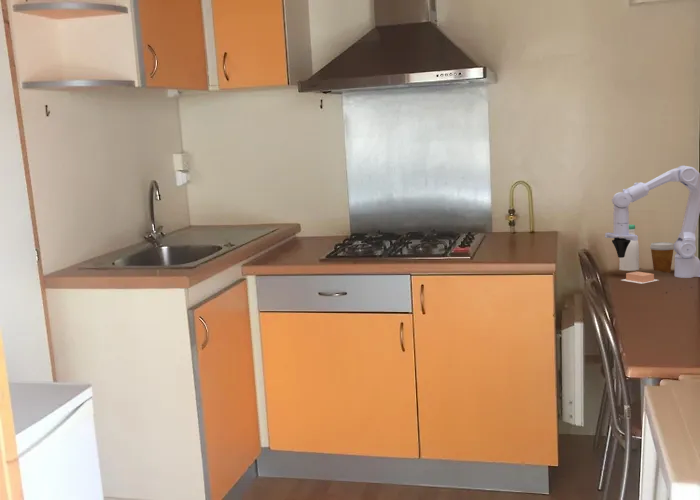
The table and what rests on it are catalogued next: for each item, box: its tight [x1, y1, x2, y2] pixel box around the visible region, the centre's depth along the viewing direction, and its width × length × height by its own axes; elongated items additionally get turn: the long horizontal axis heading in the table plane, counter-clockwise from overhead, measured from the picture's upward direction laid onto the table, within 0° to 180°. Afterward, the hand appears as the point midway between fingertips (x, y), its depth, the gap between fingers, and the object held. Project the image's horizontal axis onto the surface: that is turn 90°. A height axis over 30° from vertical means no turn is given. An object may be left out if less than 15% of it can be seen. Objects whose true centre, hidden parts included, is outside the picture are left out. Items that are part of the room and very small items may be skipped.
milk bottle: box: [618, 224, 640, 272], centre depth 312 cm, size 8×8×20 cm
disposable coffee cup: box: [649, 241, 675, 274], centre depth 309 cm, size 10×10×12 cm
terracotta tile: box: [625, 270, 655, 283], centre depth 289 cm, size 6×8×2 cm
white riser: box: [621, 278, 659, 284], centre depth 289 cm, size 10×10×2 cm
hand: (621, 257), depth 296 cm, fingers closed
